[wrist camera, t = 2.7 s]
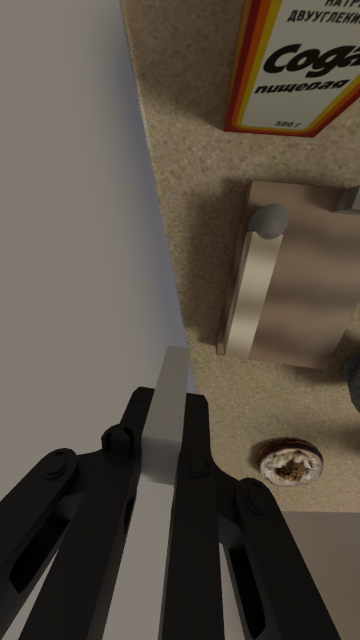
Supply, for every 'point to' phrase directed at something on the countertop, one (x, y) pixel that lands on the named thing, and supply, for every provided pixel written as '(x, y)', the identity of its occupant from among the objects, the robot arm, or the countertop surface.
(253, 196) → the stool seat
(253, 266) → the hinged leg
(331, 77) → the baking soda box
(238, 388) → the countertop surface
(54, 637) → the robot arm
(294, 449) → the sushi roll
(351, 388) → the mortar and pestle
